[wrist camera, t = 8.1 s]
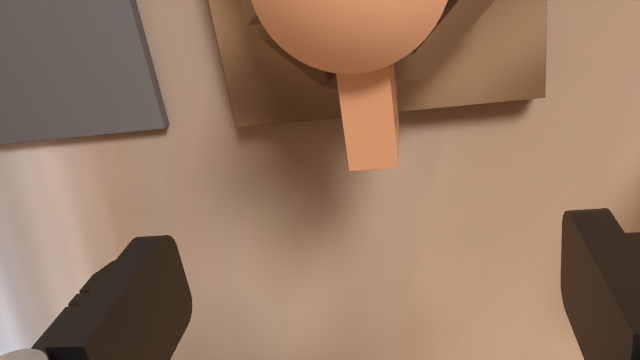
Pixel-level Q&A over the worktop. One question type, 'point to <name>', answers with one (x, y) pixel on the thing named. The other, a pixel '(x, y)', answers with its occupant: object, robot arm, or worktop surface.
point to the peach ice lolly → (356, 60)
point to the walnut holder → (410, 72)
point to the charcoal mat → (75, 70)
